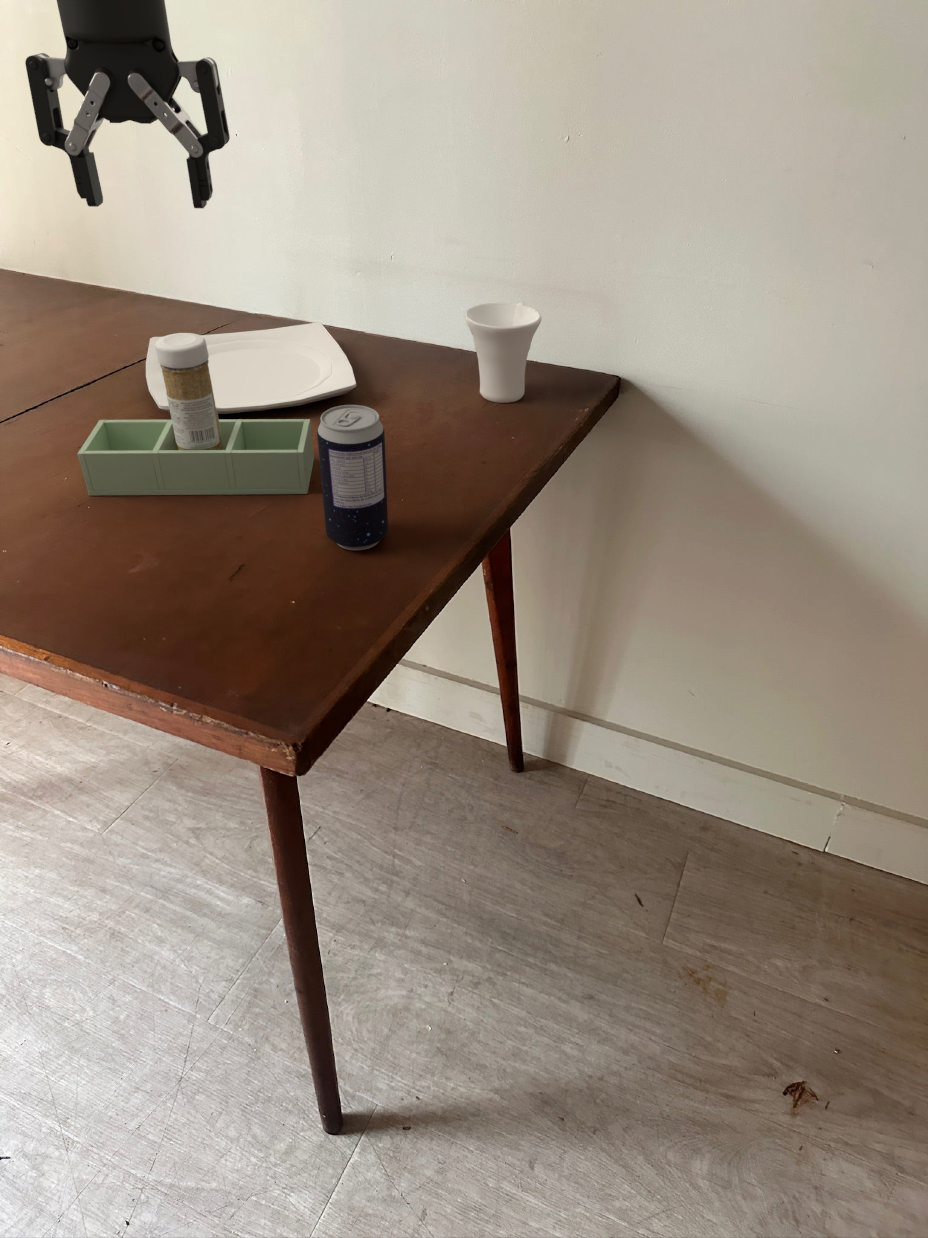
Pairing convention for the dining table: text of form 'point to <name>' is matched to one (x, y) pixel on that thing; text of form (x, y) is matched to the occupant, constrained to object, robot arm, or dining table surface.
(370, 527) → the beverage can
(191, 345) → the spice jar
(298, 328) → the plate
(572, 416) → the dining table surface
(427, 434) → the dining table surface
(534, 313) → the cup
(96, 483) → the tray
